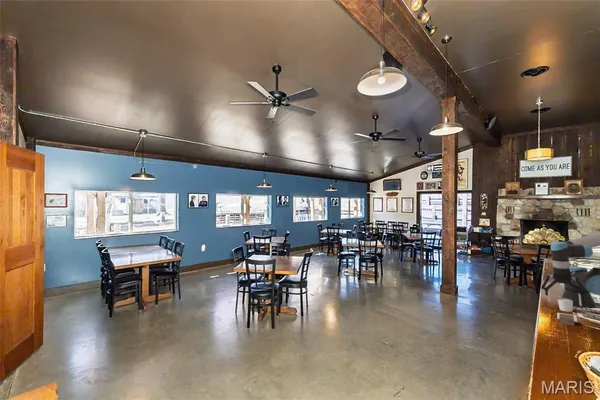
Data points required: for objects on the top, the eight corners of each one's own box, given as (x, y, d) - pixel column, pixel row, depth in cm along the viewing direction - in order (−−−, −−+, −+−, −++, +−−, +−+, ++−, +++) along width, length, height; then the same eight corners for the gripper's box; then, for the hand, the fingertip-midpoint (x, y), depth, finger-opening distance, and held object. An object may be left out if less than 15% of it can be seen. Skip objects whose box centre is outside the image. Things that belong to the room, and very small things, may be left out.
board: (557, 314, 163) (557, 312, 163) (576, 316, 157) (576, 315, 157) (557, 319, 155) (557, 318, 155) (577, 323, 149) (577, 321, 149)
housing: (560, 321, 153) (559, 313, 153) (574, 323, 149) (573, 315, 149) (560, 324, 149) (559, 316, 149) (574, 327, 145) (573, 318, 145)
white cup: (577, 313, 162) (576, 301, 162) (563, 313, 163) (562, 301, 164) (568, 309, 169) (567, 297, 169) (555, 309, 170) (554, 297, 170)
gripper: (534, 266, 173) (537, 300, 172) (591, 270, 156) (595, 308, 155) (534, 264, 179) (537, 297, 178) (590, 268, 162) (594, 305, 161)
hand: (564, 303), depth 166 cm, fingers open, 13 cm apart
